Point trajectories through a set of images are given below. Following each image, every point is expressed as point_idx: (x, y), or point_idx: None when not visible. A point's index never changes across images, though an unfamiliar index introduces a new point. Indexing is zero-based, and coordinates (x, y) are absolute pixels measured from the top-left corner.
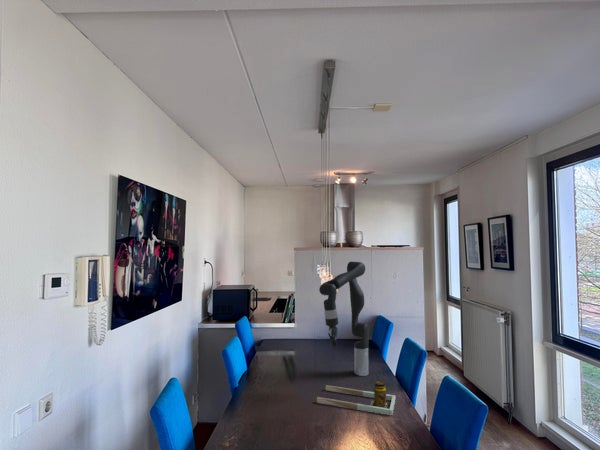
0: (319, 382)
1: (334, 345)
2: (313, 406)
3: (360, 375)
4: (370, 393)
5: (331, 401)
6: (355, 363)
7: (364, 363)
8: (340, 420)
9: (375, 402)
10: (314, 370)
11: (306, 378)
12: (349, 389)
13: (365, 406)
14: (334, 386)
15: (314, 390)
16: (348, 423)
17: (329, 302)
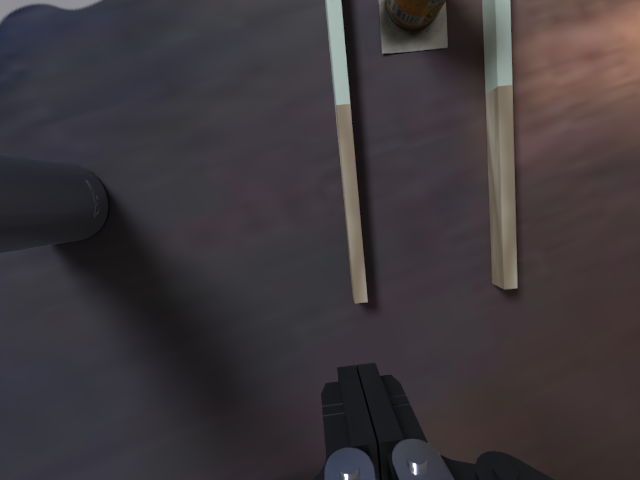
0: (291, 355)
1: (393, 385)
2: (543, 282)
3: (106, 197)
4: (346, 62)
5: (513, 216)
6: (49, 234)
7: (33, 170)
8: (623, 130)
9: (441, 7)
10: (162, 433)
11: (276, 426)
12: (354, 178)
13: (510, 41)
14: (353, 260)
15: (388, 341)
16: (636, 89)
17: None
